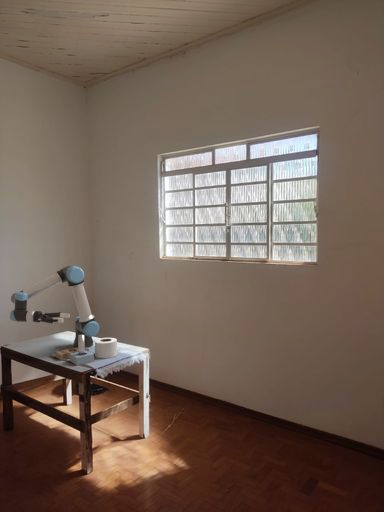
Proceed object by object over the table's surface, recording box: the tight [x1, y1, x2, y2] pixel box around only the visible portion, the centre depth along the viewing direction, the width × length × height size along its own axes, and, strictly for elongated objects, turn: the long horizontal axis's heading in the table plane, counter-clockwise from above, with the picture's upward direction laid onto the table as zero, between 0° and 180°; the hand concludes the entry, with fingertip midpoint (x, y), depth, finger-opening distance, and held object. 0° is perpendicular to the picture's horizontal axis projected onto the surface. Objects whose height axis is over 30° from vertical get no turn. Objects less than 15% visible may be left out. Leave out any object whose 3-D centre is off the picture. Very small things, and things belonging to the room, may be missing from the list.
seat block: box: [69, 350, 95, 366], centre depth 249 cm, size 12×12×5 cm
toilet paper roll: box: [94, 337, 118, 359], centre depth 263 cm, size 16×15×11 cm
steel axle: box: [78, 334, 85, 356], centre depth 249 cm, size 4×4×18 cm
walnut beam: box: [55, 347, 90, 361], centre depth 261 cm, size 20×10×4 cm, turn 130°
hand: (66, 318), depth 249 cm, fingers open, 13 cm apart
